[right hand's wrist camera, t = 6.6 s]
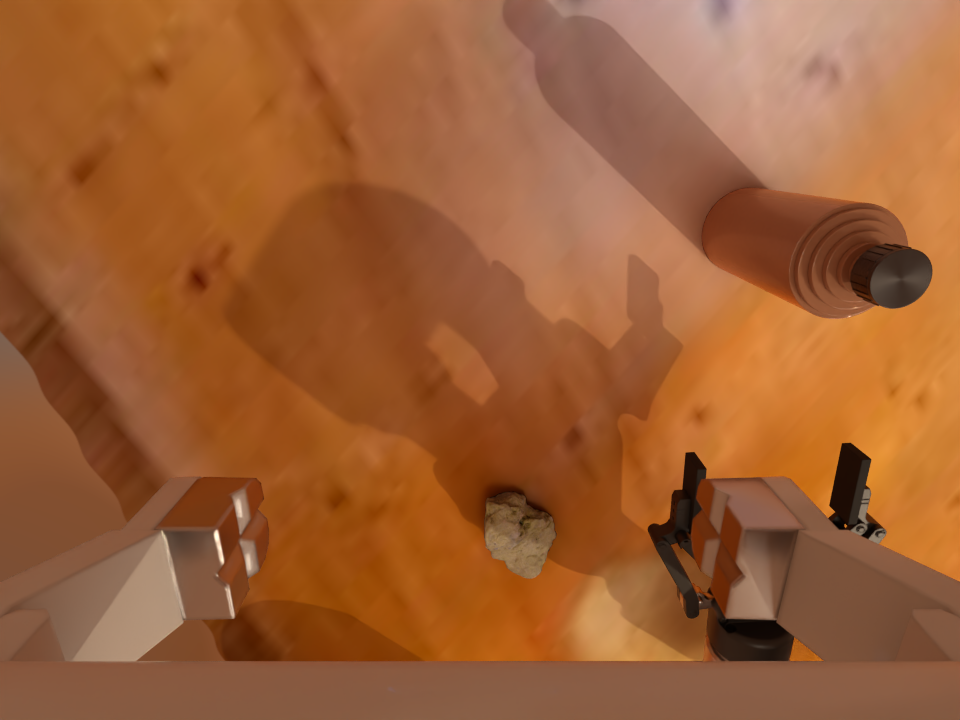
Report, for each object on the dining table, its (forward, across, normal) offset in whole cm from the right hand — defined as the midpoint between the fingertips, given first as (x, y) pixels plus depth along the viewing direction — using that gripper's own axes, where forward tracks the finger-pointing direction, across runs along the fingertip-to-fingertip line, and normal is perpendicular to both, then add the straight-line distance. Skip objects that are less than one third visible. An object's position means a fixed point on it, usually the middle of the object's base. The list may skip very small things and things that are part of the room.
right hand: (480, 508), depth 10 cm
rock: (+48, -4, +36) cm, 60 cm away
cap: (+26, -26, +1) cm, 37 cm away
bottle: (+48, -26, +1) cm, 55 cm away
